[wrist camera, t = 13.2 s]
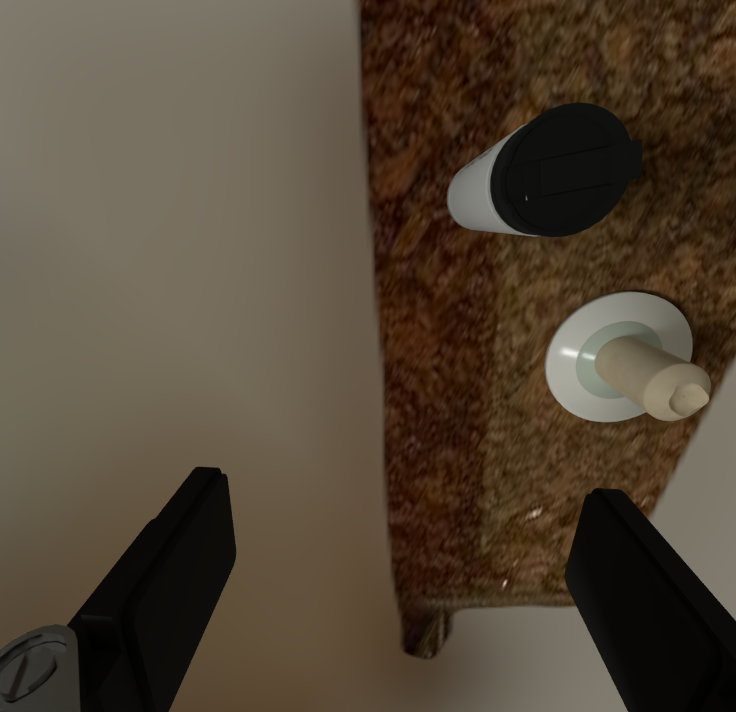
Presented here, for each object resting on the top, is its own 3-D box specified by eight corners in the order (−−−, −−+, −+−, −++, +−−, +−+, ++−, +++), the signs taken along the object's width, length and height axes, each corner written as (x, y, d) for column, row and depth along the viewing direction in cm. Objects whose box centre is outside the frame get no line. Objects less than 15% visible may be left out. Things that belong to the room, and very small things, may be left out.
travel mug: (516, 223, 38) (642, 225, 19) (449, 235, 39) (509, 248, 20) (512, 154, 36) (649, 81, 17) (443, 168, 37) (501, 113, 18)
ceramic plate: (559, 287, 40) (563, 289, 39) (705, 294, 39) (713, 296, 38) (532, 413, 45) (535, 418, 44) (661, 421, 45) (668, 426, 44)
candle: (652, 336, 40) (734, 370, 31) (640, 383, 42) (713, 430, 32) (599, 335, 40) (664, 369, 31) (589, 382, 42) (647, 428, 33)
